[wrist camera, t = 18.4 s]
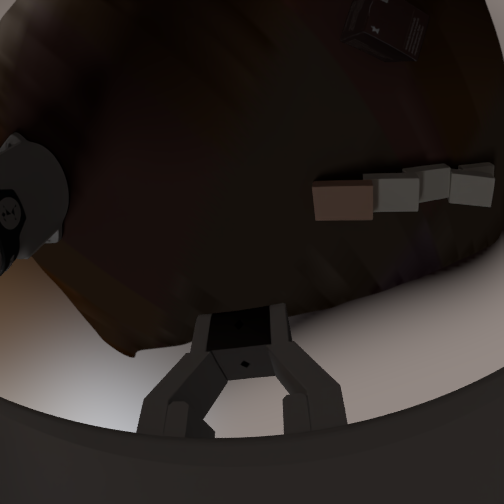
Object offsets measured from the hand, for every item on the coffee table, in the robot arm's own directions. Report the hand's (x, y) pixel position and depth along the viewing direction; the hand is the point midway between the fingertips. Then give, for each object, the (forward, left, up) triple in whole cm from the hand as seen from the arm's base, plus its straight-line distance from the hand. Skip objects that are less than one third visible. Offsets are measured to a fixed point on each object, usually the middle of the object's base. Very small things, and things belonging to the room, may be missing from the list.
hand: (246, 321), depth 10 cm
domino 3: (+18, -8, -24) cm, 32 cm away
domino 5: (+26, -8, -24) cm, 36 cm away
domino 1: (+6, -8, -24) cm, 26 cm away
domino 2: (+12, -8, -24) cm, 28 cm away
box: (+16, +12, -25) cm, 32 cm away
